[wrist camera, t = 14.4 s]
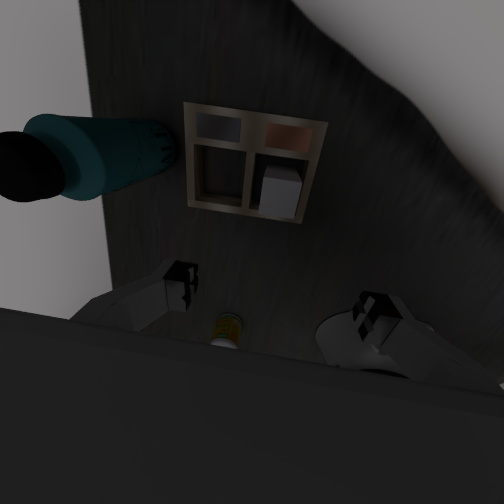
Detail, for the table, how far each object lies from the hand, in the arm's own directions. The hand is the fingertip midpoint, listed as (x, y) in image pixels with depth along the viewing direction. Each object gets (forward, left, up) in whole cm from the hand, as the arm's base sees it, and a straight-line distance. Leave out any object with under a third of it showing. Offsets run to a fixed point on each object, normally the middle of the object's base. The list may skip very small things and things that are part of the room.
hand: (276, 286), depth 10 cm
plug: (0, 0, -23) cm, 23 cm away
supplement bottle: (+5, +31, -23) cm, 39 cm away
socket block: (+4, -2, -23) cm, 24 cm away
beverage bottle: (+17, -2, -23) cm, 29 cm away
